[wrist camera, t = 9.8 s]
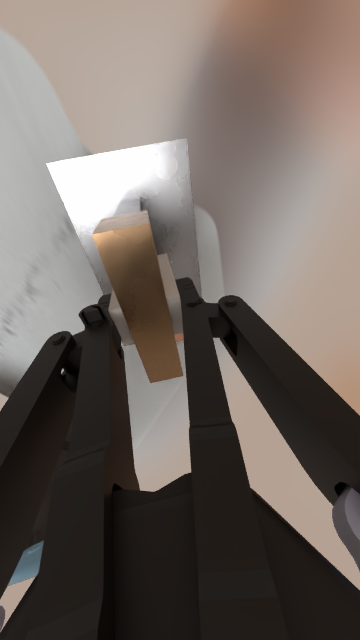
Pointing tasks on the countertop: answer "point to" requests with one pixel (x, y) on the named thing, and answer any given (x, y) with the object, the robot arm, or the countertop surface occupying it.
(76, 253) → the countertop surface
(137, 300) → the trowel
